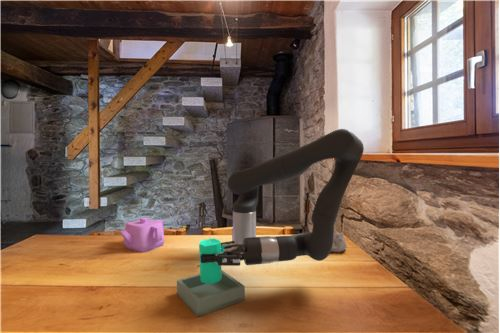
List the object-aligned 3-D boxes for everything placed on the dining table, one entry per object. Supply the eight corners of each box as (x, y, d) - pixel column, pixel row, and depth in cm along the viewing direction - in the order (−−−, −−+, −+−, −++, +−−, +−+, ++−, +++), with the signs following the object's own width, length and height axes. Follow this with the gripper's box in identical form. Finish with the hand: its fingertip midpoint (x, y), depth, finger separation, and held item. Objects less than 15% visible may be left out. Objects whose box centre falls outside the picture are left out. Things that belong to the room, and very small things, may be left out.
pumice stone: (345, 247, 121) (345, 224, 120) (349, 254, 113) (349, 229, 113) (308, 246, 123) (309, 223, 122) (310, 252, 115) (310, 228, 115)
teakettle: (163, 251, 117) (162, 221, 117) (118, 254, 113) (117, 224, 113) (165, 238, 134) (164, 212, 133) (126, 241, 130) (126, 214, 129)
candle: (205, 273, 83) (204, 233, 83) (224, 275, 82) (223, 234, 81) (196, 282, 77) (195, 239, 77) (217, 284, 76) (215, 240, 75)
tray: (177, 293, 82) (176, 280, 82) (219, 281, 90) (219, 268, 90) (197, 316, 70) (197, 301, 70) (244, 299, 78) (244, 285, 78)
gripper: (255, 230, 89) (200, 234, 86) (266, 245, 74) (200, 250, 72) (256, 254, 89) (200, 259, 86) (266, 273, 75) (201, 279, 72)
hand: (200, 255), depth 79 cm, fingers closed on candle, 5 cm apart
